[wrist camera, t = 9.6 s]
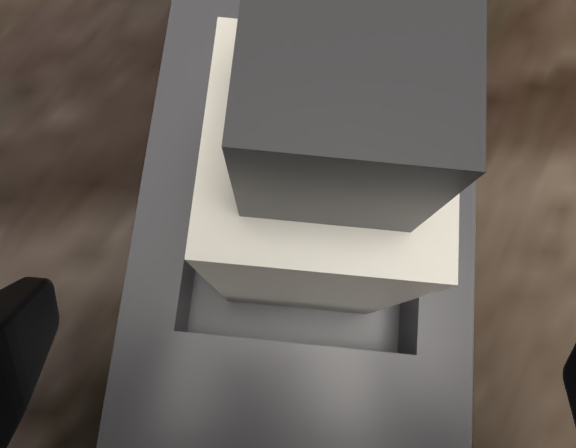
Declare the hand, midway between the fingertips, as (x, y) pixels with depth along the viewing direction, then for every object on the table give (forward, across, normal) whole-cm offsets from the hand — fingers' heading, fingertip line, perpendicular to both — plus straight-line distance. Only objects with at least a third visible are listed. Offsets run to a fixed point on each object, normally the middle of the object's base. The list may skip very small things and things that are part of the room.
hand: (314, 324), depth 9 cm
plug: (+10, 0, +4) cm, 10 cm away
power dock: (+10, 0, +5) cm, 11 cm away
